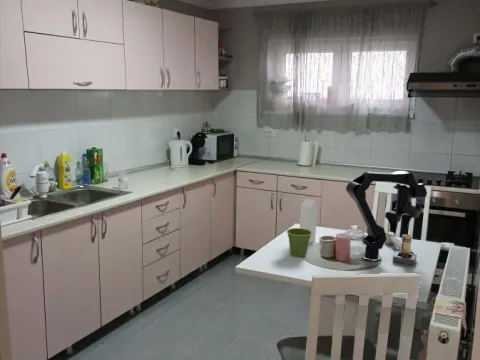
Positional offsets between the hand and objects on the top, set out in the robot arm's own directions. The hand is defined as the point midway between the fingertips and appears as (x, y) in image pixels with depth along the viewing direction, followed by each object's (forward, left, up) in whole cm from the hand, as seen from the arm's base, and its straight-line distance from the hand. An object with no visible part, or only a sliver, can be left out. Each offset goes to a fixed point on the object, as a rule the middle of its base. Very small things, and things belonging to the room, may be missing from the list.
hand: (399, 231), depth 219 cm
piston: (-2, -5, -13) cm, 14 cm away
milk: (-17, +41, -13) cm, 46 cm away
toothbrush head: (+11, +6, -14) cm, 18 cm away
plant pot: (-36, +30, -13) cm, 49 cm away
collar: (-2, -5, -13) cm, 14 cm away
